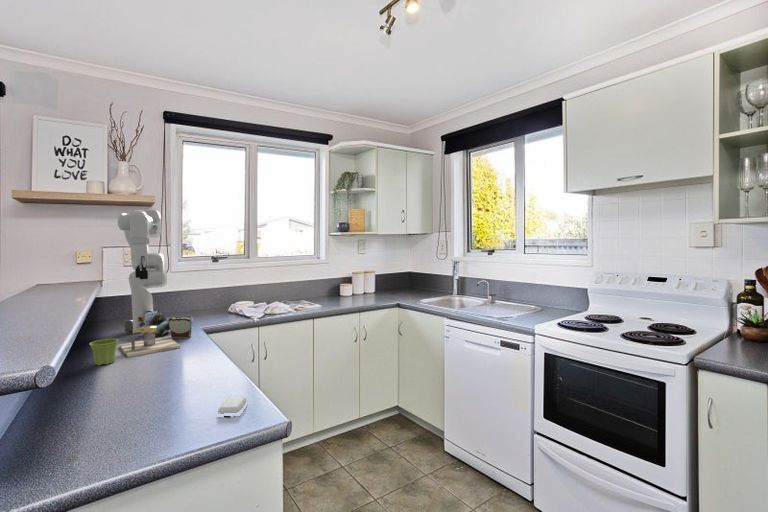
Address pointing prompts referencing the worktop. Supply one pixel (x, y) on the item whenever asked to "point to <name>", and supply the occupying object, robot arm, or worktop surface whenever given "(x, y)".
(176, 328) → the food container
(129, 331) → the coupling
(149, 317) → the lucky cat figurine
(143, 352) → the post base
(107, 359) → the plant pot
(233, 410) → the soap
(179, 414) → the worktop surface
